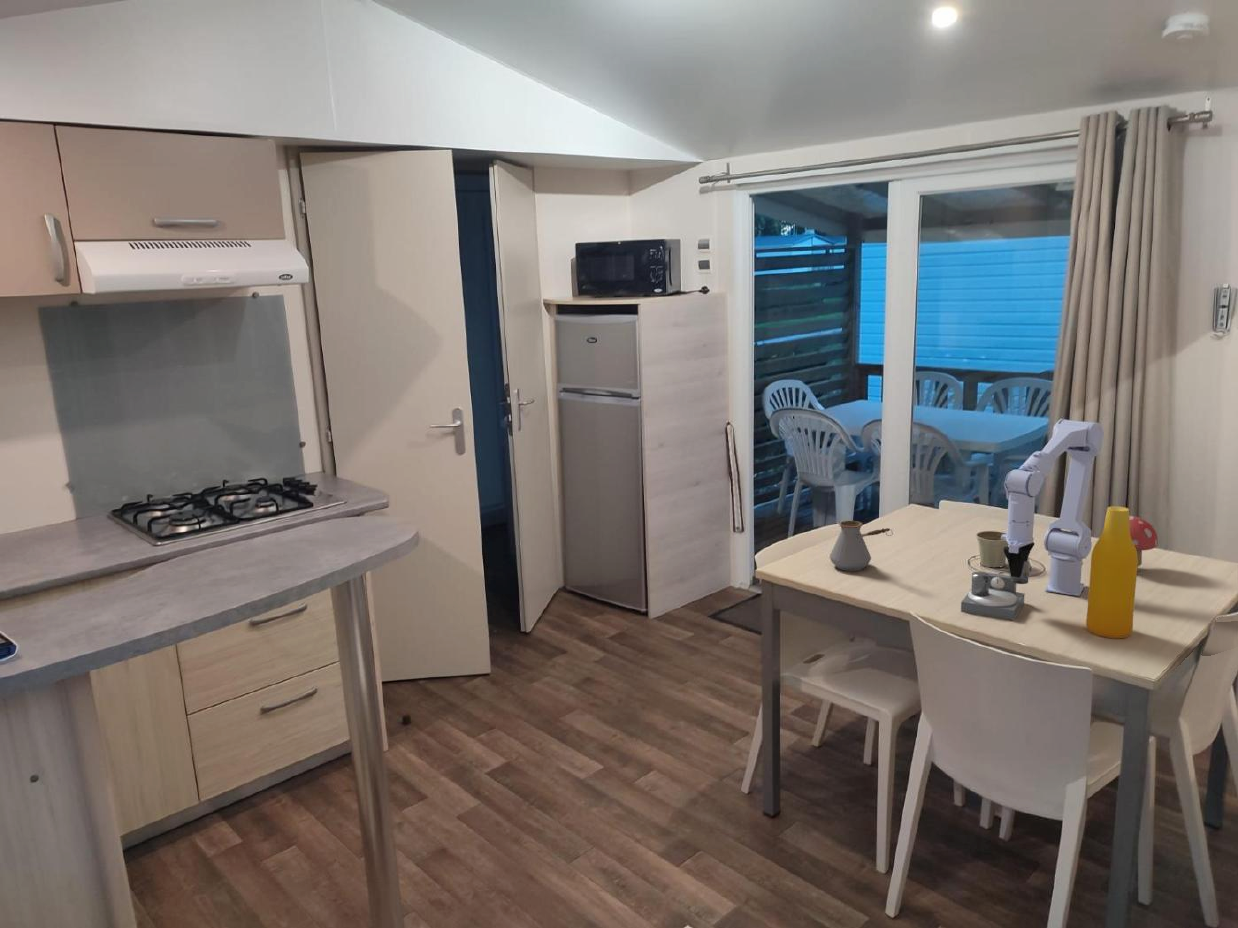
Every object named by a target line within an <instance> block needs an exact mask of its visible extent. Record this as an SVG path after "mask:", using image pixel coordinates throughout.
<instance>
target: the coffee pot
mask: <svg viewBox="0 0 1238 928" xmlns="http://www.w3.org/2000/svg"><path fill="white" fill-rule="evenodd" d="M838 525H839V527H840V529H841V530H840V533H839V535H838V537H837V539H836V541H835V544H834V545H833V548H832V549H831V551H830V553H829V560H830V561H831V563H832V564H833V565H834V566H836V568H837V569H839V570H842V571H845V572H846V571H847V572H848V571H849V572H854V571H855V572H856V571H861V570H864V568H865V567H867V566H868V565H869V563H870V562H871V560H872V556H871V553H870V551H869V548H868V546H867V544H866V542H865V539H864V537H870V536H874V535H875V536H877V535H879V534H882V533H883V534H886V536H888V537H890V536H893V534H894V533H893V530H892V529H890V528H887V527H886V528H881V529H876V530H872V531H868V532H864V533H861V528H862V526H863V522H861V521H858V520H857V521H856V520H843V521H840V522H839V523H838ZM889 531H891V534H890V535H889V534H887V532H889Z"/></svg>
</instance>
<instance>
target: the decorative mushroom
mask: <svg viewBox="0 0 1238 928" xmlns="http://www.w3.org/2000/svg"><path fill="white" fill-rule="evenodd" d="M1129 518H1130V536H1131V539H1132V541H1133V543H1134V546H1135V548H1136V551H1137V556H1138V566H1137V568H1138V567H1140V566H1141V565H1142V563H1143V562H1142V561H1143V557H1142V556H1143V551H1149V550H1153V549H1155V548H1156V547H1158V545H1159V541H1158V540H1159V539H1158V534H1157V531H1156V529H1155V528H1154V527H1153V525H1152V524H1150V523H1149V522H1148V521H1147V520H1145V519H1143V518H1141V517H1137V516H1132V515H1129Z"/></svg>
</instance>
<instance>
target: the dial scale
mask: <svg viewBox="0 0 1238 928" xmlns="http://www.w3.org/2000/svg"><path fill="white" fill-rule="evenodd" d="M984 572H985V571H984ZM985 573H988V574H989V575H990V576H989V595H988V596H984V597H980V596H975V595H973V594H971V589H970V590H969V591H968V592H967V594H966V595H965V596H964V597H963V599H962V600H961V606H960V612H961V613H962V612H964V613H970V614H975V615H979V616H986V617H993V618H999V619H1005V620H1010V621H1014V620H1015V618H1016V617H1017V615H1018V613H1019V612H1020V610H1021V608H1022V607H1023V605H1024V604H1025V593H1024V592H1017V584H1016V583H1013V582H1011V581H1010V575H1005V574H1001V573H994V572H985Z"/></svg>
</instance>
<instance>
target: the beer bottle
mask: <svg viewBox="0 0 1238 928" xmlns="http://www.w3.org/2000/svg"><path fill="white" fill-rule="evenodd" d="M1129 516H1130V509H1129V508H1128V507H1125V506H1117V505H1116V506H1114V505H1113V506H1107V510H1106V513H1105V519H1104V524H1103V529H1102V533H1101V535H1100V537H1098V539H1097V541H1096V543H1095V544H1094V546H1093V549H1092V550H1091V555H1090V556H1091V557H1090V568H1089V569H1090V571H1089V583H1088V585H1089V586H1088V597H1087V599H1088V600H1087V613H1086V620H1085V625H1086V628H1087V631H1089V632H1090V633H1091V634H1093V635H1096V636H1098V637H1102V638H1108V639H1125V638H1128V637H1130V635H1131V634H1132V632H1133V626H1134V623H1133V622H1134V610H1135V600H1136V599H1135V598H1136V589H1137V588H1136V587H1137V575H1138V567H1139V566H1138V556H1137V551H1136V548H1135V546H1134V543H1133V541H1132V539H1131V536H1130V518H1129ZM1137 566H1138V567H1137Z"/></svg>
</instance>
